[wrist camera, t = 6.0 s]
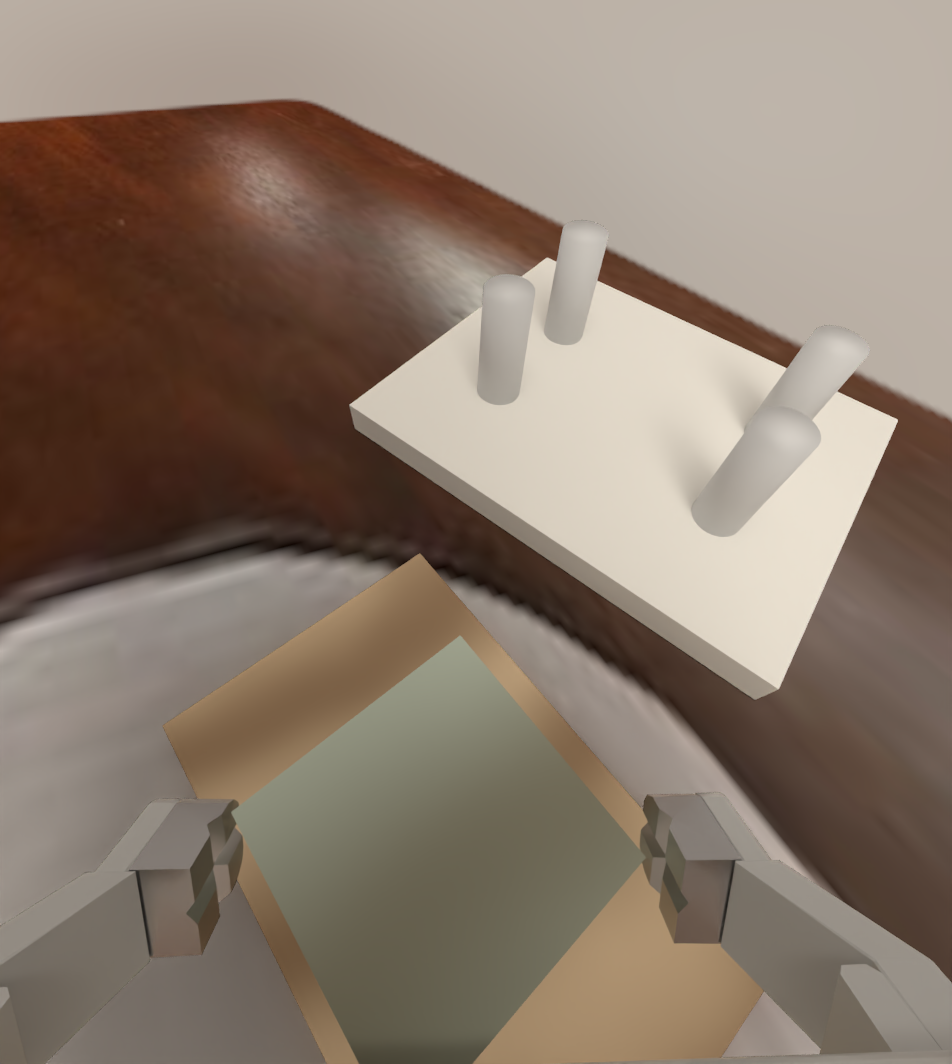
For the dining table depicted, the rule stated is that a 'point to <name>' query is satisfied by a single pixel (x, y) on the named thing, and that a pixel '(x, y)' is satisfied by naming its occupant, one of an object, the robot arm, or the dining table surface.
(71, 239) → the dining table surface
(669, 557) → the peg plate
